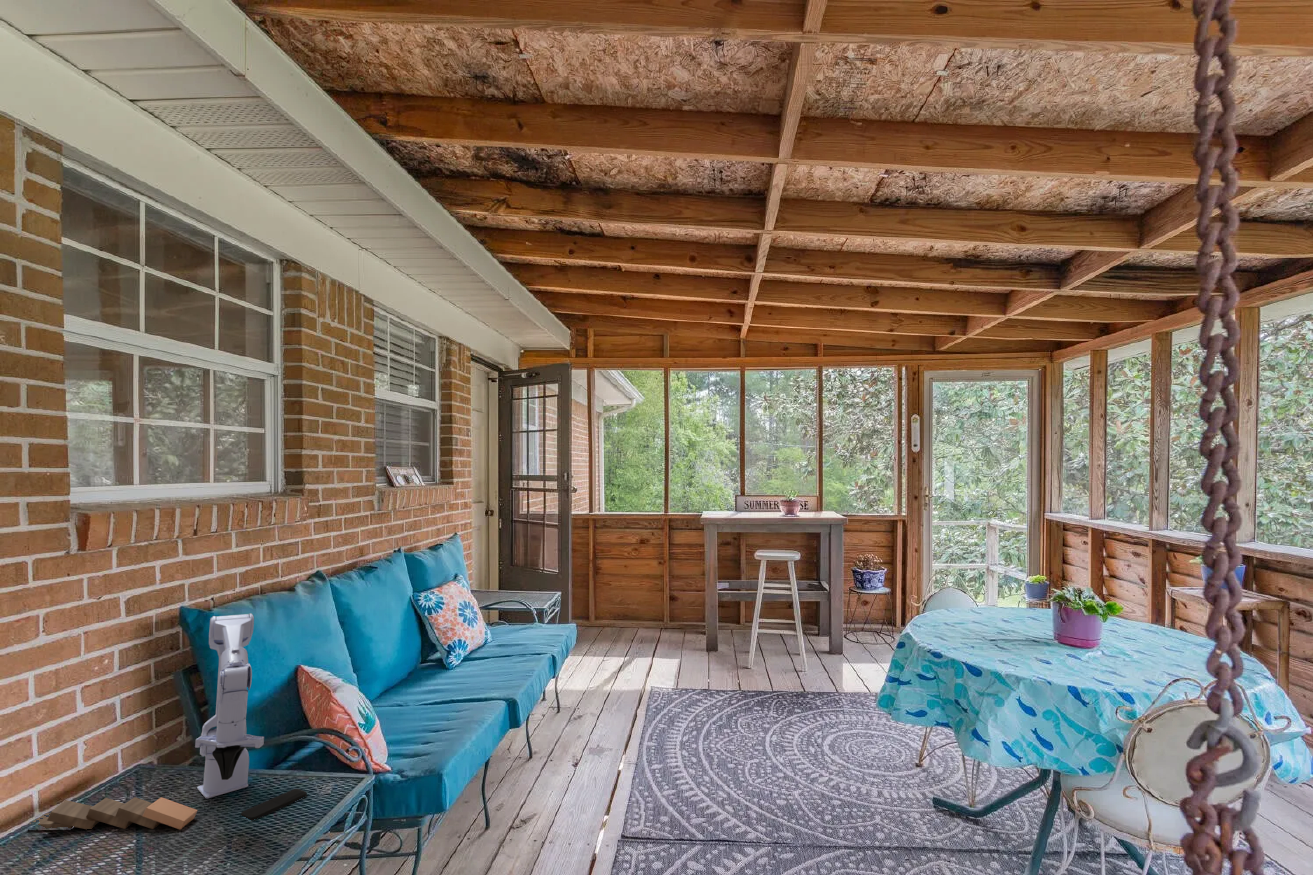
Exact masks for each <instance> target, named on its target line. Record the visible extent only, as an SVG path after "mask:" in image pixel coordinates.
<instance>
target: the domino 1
mask: <svg viewBox="0 0 1313 875" xmlns="http://www.w3.org/2000/svg"><path fill="white" fill-rule="evenodd" d="M50 813H51V812H46V813H44V814H42V815H40V817H38V818H36V819H35V820H33V821H32V822H36V820H39V822H40V823H39V824H38V825H41V826H43V827H45V828H51V827H52V828H57V827H68V828H72V827H73V826H69V825H65V824H60V823H56V822H51V821H47V820H48V817H46V816H44V815H49V814H50ZM40 818H43V819H40ZM29 824H31V822H30V823H29Z"/></svg>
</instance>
